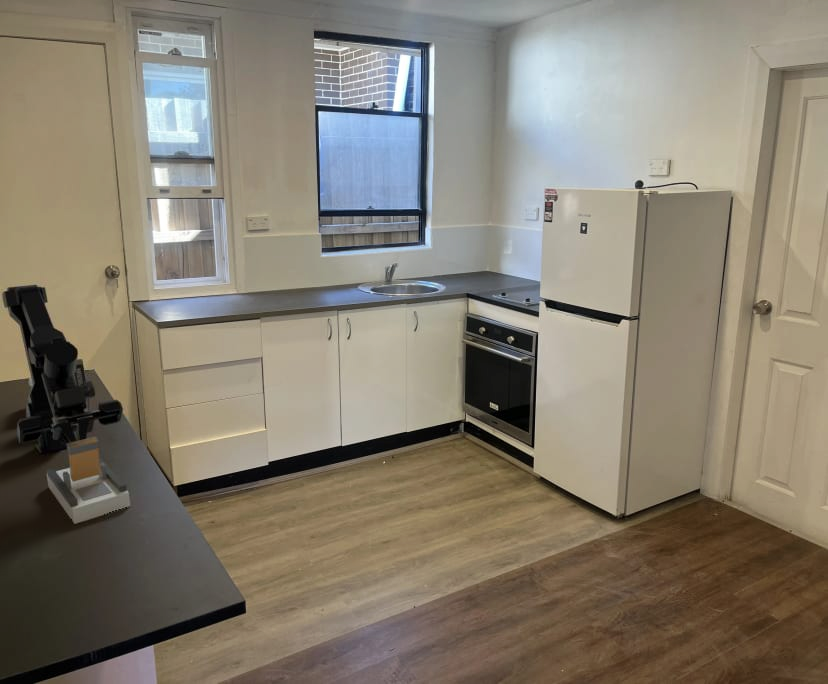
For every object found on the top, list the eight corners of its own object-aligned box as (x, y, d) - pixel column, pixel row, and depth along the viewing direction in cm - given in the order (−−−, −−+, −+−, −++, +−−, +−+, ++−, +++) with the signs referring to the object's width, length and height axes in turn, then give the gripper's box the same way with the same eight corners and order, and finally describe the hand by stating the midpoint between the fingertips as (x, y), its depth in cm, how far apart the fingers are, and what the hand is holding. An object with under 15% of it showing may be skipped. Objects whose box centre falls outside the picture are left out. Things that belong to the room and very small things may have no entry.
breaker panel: (48, 487, 136) (44, 460, 135) (99, 473, 143) (96, 447, 141) (74, 523, 122) (70, 494, 120) (130, 506, 128) (126, 477, 126)
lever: (69, 477, 130) (66, 443, 127) (97, 469, 133) (95, 436, 130) (72, 482, 129) (69, 448, 125) (100, 474, 132) (98, 441, 129)
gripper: (10, 379, 124) (29, 452, 119) (114, 362, 135) (137, 427, 130) (10, 408, 132) (28, 477, 126) (109, 389, 143) (130, 452, 138)
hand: (82, 457), depth 130 cm, fingers closed, pressing on lever
